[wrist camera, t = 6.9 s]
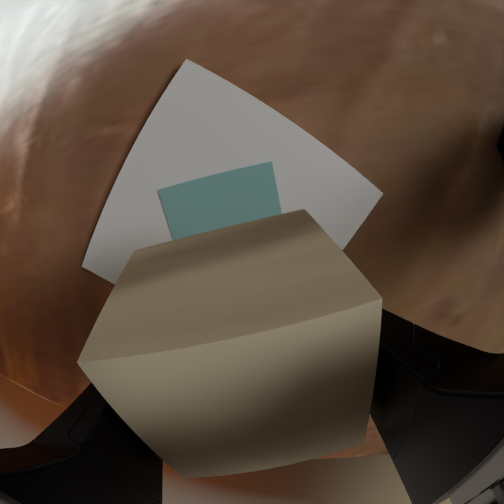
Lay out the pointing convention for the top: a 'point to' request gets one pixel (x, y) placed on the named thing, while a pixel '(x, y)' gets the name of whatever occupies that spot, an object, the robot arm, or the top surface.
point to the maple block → (240, 347)
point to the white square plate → (221, 173)
